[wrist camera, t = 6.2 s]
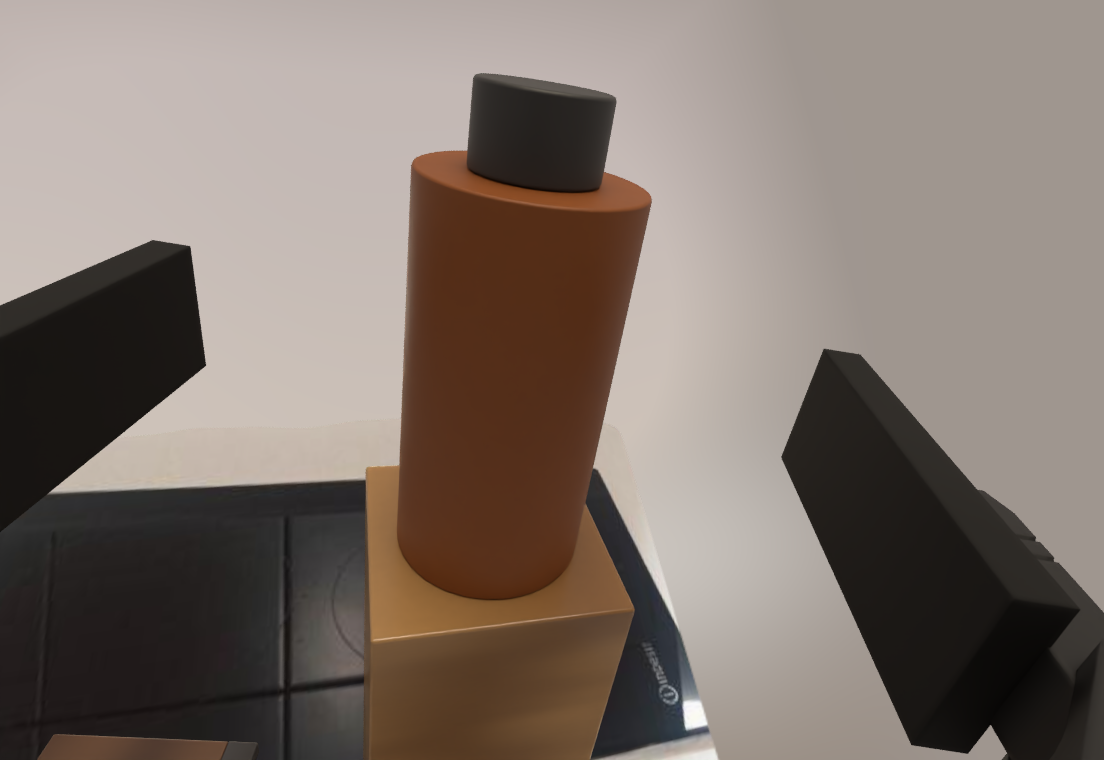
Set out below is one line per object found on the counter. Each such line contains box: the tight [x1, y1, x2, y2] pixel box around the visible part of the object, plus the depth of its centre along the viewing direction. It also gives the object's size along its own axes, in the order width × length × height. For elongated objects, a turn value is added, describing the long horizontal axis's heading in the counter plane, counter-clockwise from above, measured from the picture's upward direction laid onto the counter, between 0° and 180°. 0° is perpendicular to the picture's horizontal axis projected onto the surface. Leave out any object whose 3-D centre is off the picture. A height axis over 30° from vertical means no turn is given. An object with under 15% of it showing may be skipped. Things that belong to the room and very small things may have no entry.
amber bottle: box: [397, 73, 652, 599], centre depth 14 cm, size 5×5×11 cm
